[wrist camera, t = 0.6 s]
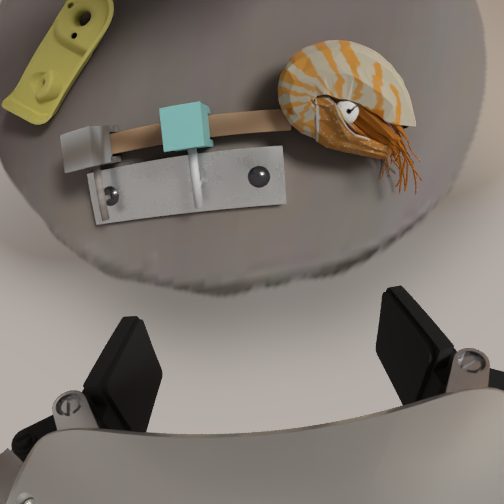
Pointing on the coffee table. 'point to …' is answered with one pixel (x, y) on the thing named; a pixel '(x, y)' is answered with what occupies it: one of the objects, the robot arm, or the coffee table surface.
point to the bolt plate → (180, 187)
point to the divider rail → (150, 141)
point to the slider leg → (187, 137)
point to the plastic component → (59, 60)
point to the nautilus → (348, 101)
